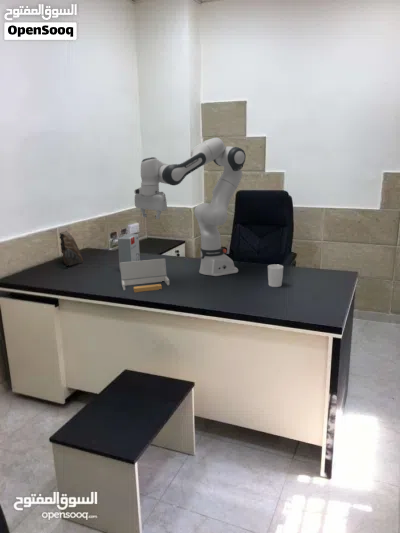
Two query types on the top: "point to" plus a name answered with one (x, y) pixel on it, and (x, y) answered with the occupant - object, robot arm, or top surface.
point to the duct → (145, 281)
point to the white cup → (275, 275)
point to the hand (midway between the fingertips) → (151, 218)
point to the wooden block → (147, 288)
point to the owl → (70, 249)
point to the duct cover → (143, 268)
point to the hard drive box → (128, 248)
